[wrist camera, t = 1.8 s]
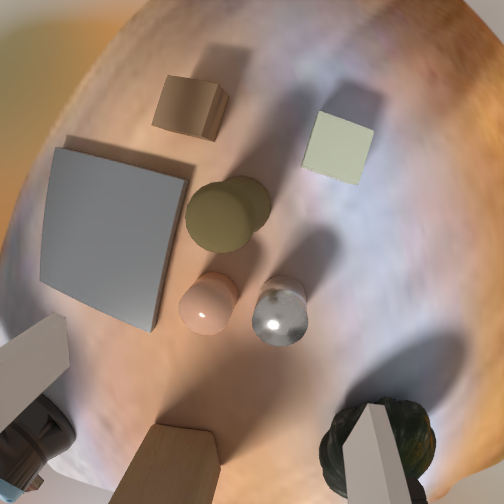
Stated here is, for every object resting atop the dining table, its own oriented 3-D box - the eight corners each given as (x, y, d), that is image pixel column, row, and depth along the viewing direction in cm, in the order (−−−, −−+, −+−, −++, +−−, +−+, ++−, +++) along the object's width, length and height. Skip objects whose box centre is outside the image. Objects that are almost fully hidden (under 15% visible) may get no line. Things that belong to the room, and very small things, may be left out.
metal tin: (253, 310, 34) (245, 336, 28) (267, 269, 33) (261, 289, 27) (296, 324, 34) (296, 352, 28) (312, 284, 33) (316, 306, 27)
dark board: (46, 277, 37) (39, 280, 36) (62, 147, 32) (55, 147, 31) (155, 327, 36) (150, 333, 35) (188, 180, 32) (184, 180, 30)
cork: (276, 228, 32) (269, 254, 21) (219, 240, 33) (186, 271, 22) (263, 169, 31) (248, 165, 20) (205, 184, 32) (164, 188, 21)
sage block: (300, 167, 30) (302, 165, 25) (314, 121, 29) (319, 110, 24) (347, 183, 30) (357, 185, 25) (361, 137, 29) (374, 130, 24)
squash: (442, 458, 31) (454, 491, 19) (349, 494, 35) (321, 535, 23) (412, 377, 38) (414, 378, 26) (321, 418, 42) (283, 432, 30)
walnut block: (171, 131, 31) (151, 125, 26) (184, 88, 30) (167, 75, 25) (214, 142, 31) (201, 136, 26) (229, 97, 29) (218, 83, 24)
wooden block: (165, 459, 43) (124, 549, 24) (151, 420, 41) (95, 519, 21) (222, 468, 42) (194, 568, 22) (215, 429, 39) (176, 544, 20)
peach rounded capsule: (189, 305, 35) (174, 324, 30) (199, 265, 34) (184, 280, 29) (230, 320, 35) (221, 342, 30) (243, 280, 34) (235, 298, 29)
